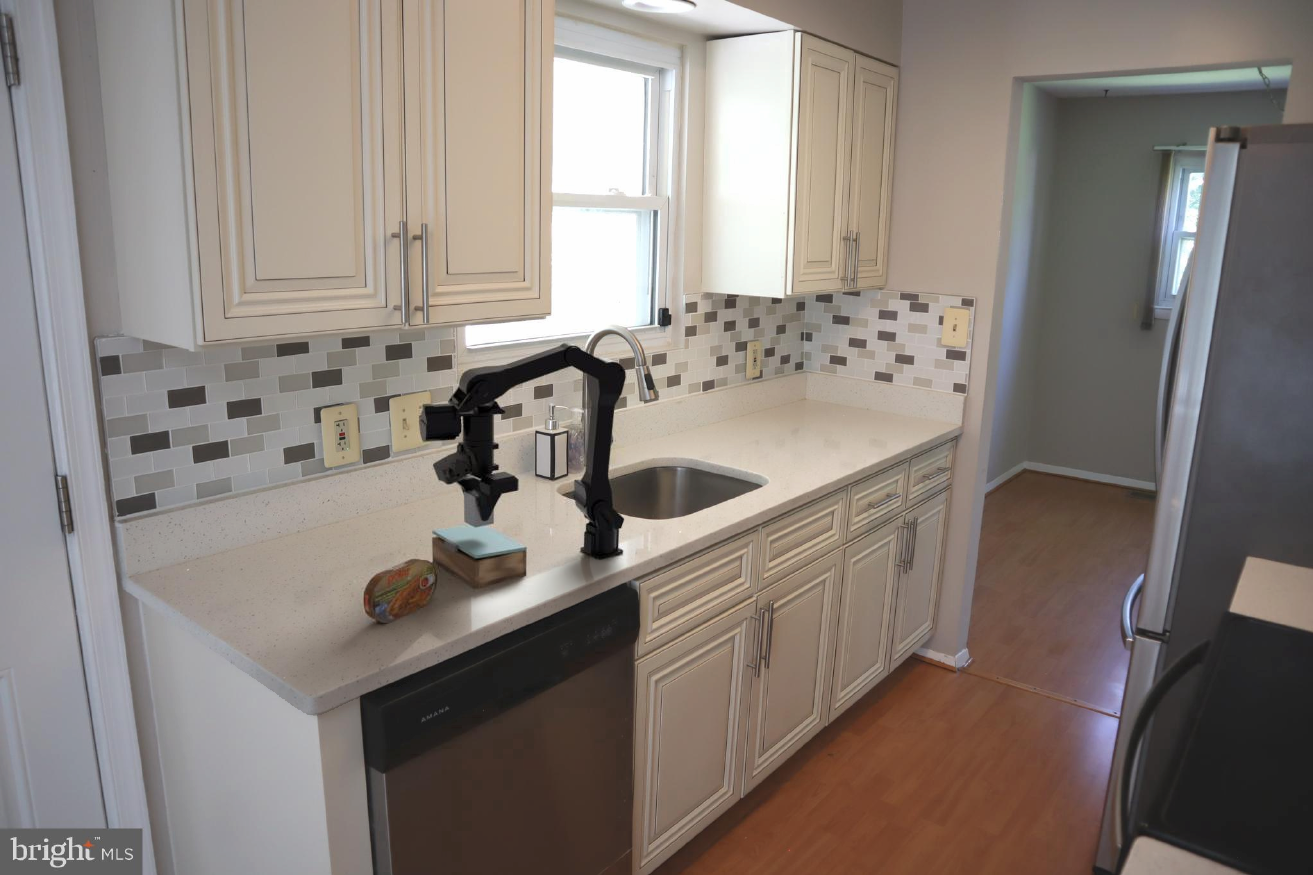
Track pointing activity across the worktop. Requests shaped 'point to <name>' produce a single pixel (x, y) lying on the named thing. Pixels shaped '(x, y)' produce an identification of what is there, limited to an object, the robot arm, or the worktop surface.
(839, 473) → the worktop surface
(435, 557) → the box
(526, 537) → the worktop surface
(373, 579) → the tin
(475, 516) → the block
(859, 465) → the worktop surface
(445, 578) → the worktop surface
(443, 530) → the lid
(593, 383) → the robot arm
